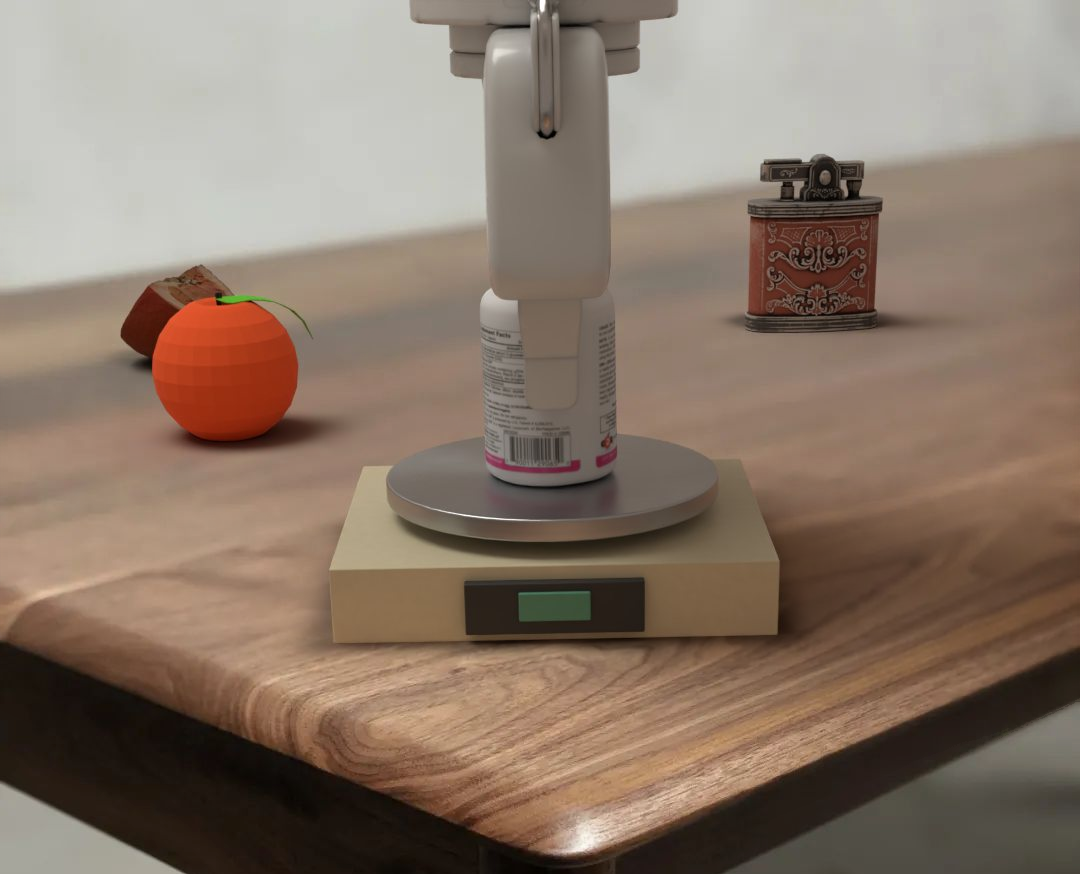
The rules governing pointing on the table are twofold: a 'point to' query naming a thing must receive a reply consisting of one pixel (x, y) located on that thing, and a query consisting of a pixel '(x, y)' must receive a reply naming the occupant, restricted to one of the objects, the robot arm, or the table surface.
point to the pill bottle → (548, 435)
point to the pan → (552, 494)
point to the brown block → (167, 306)
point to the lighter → (813, 249)
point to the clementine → (225, 368)
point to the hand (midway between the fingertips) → (551, 385)
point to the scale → (554, 577)
